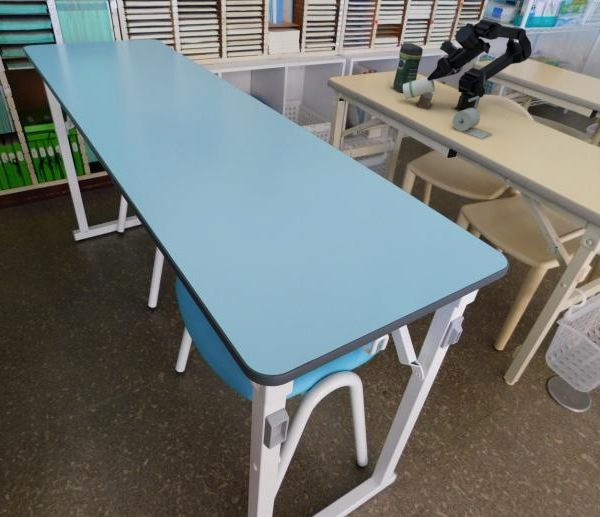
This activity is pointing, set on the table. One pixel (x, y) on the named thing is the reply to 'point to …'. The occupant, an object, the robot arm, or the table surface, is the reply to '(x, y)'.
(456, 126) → the toilet paper roll
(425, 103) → the wooden block
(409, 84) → the cylindrical container with lid
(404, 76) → the coffee jar
